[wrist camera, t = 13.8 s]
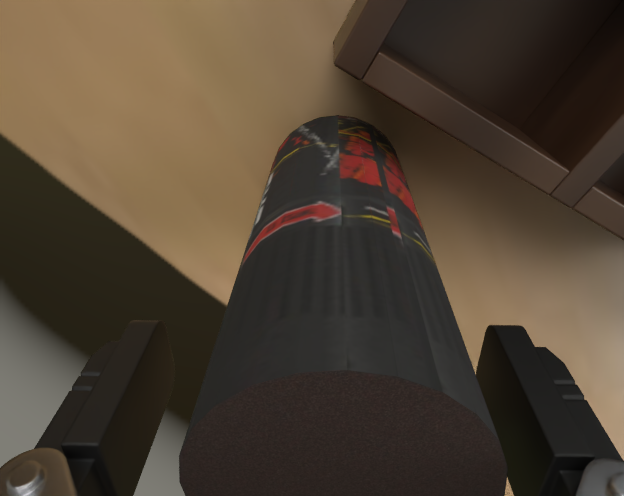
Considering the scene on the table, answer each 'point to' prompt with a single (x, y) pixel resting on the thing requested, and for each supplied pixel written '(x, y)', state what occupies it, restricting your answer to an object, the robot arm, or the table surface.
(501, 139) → the rack
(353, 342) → the deodorant
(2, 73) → the table surface
